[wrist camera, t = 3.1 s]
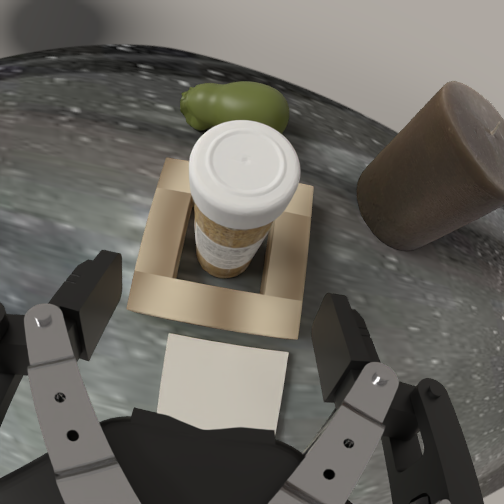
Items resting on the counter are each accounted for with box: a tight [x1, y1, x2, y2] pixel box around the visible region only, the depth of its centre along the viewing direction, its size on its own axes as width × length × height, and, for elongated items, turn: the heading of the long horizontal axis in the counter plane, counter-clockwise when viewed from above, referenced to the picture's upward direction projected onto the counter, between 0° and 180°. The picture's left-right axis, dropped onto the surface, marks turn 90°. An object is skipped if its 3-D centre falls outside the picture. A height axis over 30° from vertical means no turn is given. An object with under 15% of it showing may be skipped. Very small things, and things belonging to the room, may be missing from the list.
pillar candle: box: [357, 81, 504, 251], centre depth 21 cm, size 10×10×15 cm
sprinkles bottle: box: [189, 120, 300, 278], centre depth 18 cm, size 5×5×14 cm
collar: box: [127, 158, 313, 339], centre depth 23 cm, size 12×12×2 cm
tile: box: [157, 333, 289, 433], centre depth 21 cm, size 9×9×1 cm
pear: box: [180, 81, 289, 134], centre depth 26 cm, size 6×5×10 cm
